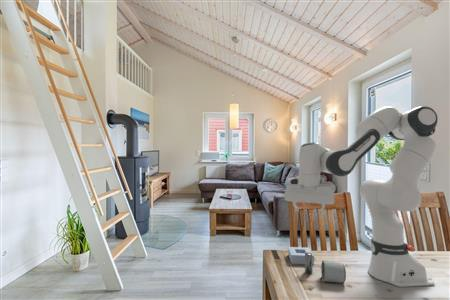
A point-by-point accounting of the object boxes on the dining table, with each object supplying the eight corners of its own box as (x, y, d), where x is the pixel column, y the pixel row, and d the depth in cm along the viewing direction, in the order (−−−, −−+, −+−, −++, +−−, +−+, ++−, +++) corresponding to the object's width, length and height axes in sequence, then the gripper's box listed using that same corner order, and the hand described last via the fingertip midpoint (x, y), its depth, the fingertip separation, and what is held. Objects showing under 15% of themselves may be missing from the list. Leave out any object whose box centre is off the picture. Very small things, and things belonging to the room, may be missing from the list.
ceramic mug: (347, 286, 99) (347, 266, 99) (324, 284, 101) (324, 264, 101) (339, 274, 110) (339, 255, 110) (319, 272, 111) (319, 254, 111)
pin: (311, 271, 112) (311, 252, 112) (313, 274, 109) (313, 255, 109) (304, 270, 112) (304, 252, 112) (305, 274, 109) (305, 255, 109)
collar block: (309, 255, 128) (309, 247, 128) (313, 264, 118) (313, 255, 118) (288, 254, 129) (288, 246, 129) (291, 263, 119) (291, 255, 119)
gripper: (335, 181, 111) (334, 213, 111) (285, 178, 117) (285, 209, 117) (336, 182, 105) (335, 217, 105) (284, 180, 111) (283, 212, 111)
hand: (308, 213), depth 111 cm, fingers open, 8 cm apart
